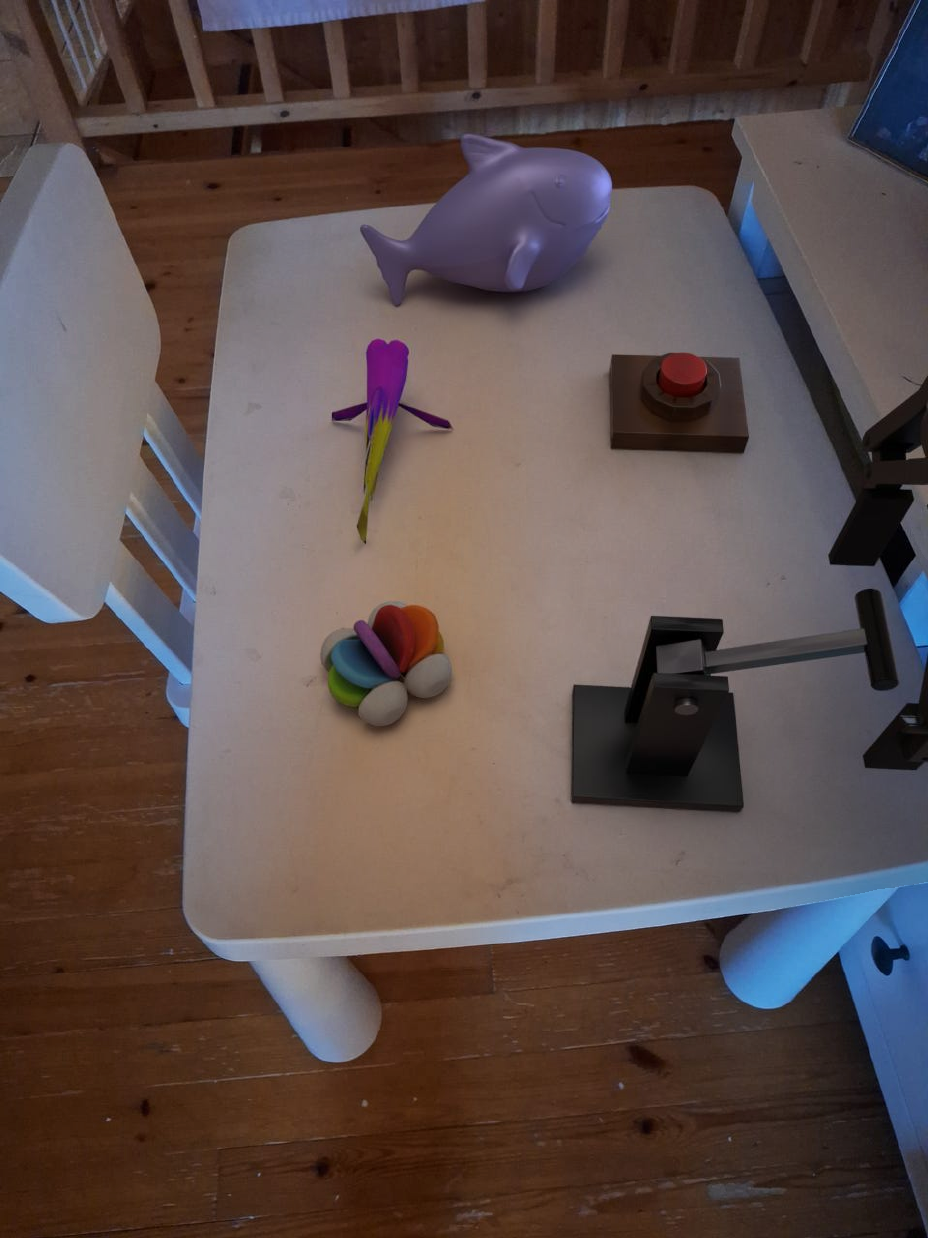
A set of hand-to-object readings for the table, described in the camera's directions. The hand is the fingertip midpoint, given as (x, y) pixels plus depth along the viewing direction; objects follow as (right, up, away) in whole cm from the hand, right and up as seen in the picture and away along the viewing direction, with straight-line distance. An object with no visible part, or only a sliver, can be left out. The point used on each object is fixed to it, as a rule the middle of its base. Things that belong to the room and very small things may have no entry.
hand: (868, 655), depth 53 cm
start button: (-4, +24, +29) cm, 37 cm away
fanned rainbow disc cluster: (-30, -2, +18) cm, 35 cm away
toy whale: (-21, +37, +42) cm, 60 cm away
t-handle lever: (-5, -1, +2) cm, 5 cm away
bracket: (-10, -8, +14) cm, 19 cm away
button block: (-4, +22, +32) cm, 39 cm away
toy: (-31, +16, +29) cm, 45 cm away
